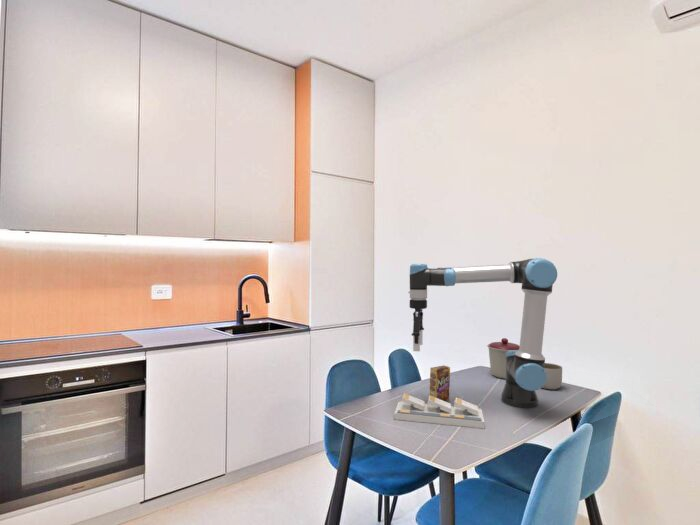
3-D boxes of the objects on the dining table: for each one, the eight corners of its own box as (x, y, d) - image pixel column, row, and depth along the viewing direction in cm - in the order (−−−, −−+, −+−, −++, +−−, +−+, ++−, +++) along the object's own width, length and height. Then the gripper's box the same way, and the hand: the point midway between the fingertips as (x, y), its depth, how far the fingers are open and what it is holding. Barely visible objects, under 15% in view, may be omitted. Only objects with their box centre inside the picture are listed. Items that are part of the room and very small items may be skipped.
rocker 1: (423, 405, 171) (425, 400, 171) (422, 411, 165) (424, 406, 164) (402, 396, 173) (404, 392, 173) (401, 402, 167) (402, 397, 166)
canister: (518, 383, 213) (518, 342, 213) (483, 377, 223) (483, 338, 223) (524, 375, 228) (525, 337, 228) (491, 370, 238) (492, 334, 238)
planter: (563, 386, 209) (563, 365, 209) (560, 393, 198) (561, 370, 198) (536, 382, 215) (536, 361, 215) (532, 388, 205) (533, 366, 205)
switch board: (481, 415, 168) (481, 405, 168) (484, 428, 155) (484, 418, 155) (398, 407, 176) (398, 398, 176) (394, 419, 163) (394, 409, 163)
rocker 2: (449, 407, 169) (450, 402, 169) (449, 413, 162) (451, 408, 162) (428, 399, 171) (429, 394, 171) (427, 404, 164) (429, 399, 164)
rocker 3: (475, 410, 167) (477, 405, 166) (476, 416, 160) (478, 411, 160) (454, 401, 168) (455, 396, 168) (454, 407, 162) (456, 402, 162)
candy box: (435, 404, 181) (436, 369, 181) (428, 401, 184) (429, 367, 184) (450, 400, 186) (450, 366, 186) (442, 397, 189) (443, 364, 189)
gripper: (412, 296, 192) (412, 341, 192) (406, 301, 168) (406, 353, 168) (428, 297, 190) (428, 342, 190) (424, 302, 166) (424, 354, 166)
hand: (418, 347), depth 179 cm, fingers open, 13 cm apart
